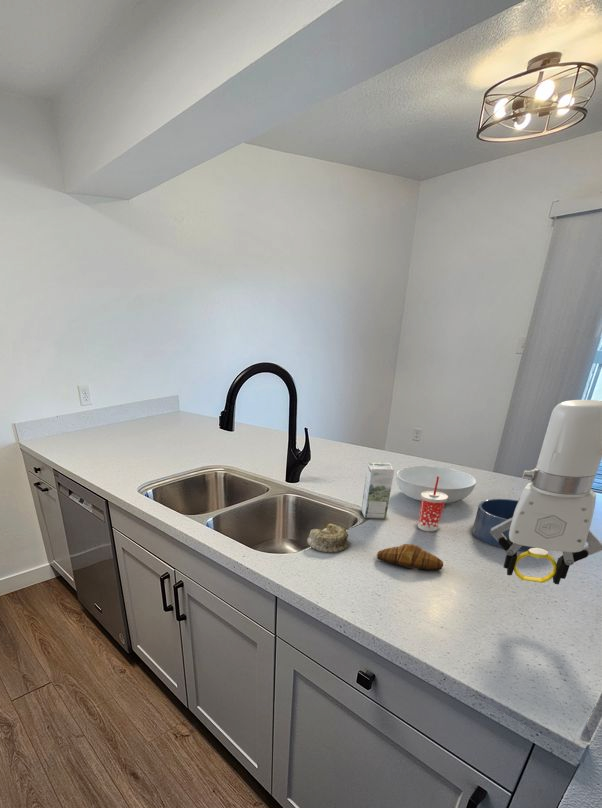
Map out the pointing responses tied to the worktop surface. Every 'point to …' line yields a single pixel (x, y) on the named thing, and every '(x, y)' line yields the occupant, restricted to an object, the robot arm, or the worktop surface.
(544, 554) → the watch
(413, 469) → the serving bowl
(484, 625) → the worktop surface
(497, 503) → the blue pet bowl
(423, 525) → the beverage cup
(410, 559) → the croissant
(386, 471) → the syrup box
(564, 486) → the robot arm
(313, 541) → the beige coiled mound
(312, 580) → the worktop surface
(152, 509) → the worktop surface
